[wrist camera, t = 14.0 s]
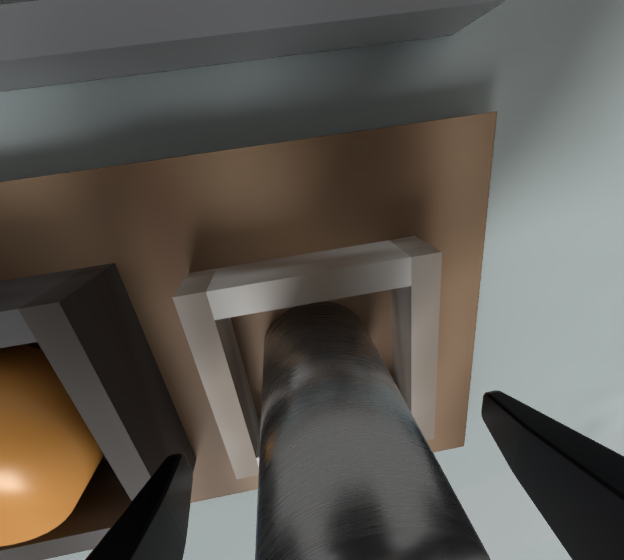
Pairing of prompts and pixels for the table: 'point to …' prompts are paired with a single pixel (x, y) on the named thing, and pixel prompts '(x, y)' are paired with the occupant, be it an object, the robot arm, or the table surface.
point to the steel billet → (346, 453)
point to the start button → (39, 447)
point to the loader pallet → (240, 292)
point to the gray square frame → (201, 33)
